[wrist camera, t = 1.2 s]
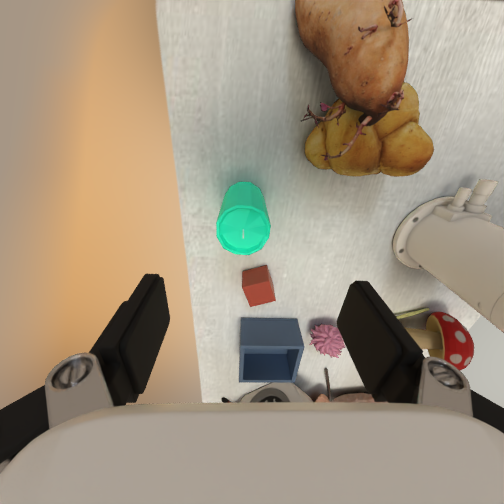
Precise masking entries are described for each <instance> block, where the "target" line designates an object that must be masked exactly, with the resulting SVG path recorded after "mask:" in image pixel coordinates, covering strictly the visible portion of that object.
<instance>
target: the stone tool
mask: <svg viewBox="0 0 504 504" xmlns="http://www.w3.org/2000/svg"><path fill="white" fill-rule="evenodd" d="M330 402H344V403H388V402H375V401H374V399H373V397H372V395H371V394H367V393H354V394H344V395H341V396H339V397H337V398H334V399H333V400H332V401H330Z"/></svg>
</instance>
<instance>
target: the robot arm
mask: <svg viewBox="0 0 504 504" xmlns="http://www.w3.org/2000/svg"><path fill="white" fill-rule="evenodd" d="M497 184H498V182H497V181H493V180H486V179H479V181H478V183H477V184H476V186H475V188H474V190H473V192H472V195H471V197H470V199H469V201H468V200H466V199H467V198H468V197H469V195H470V193H471V191H472V189H468V188H459V190H458V192H457V194H456V196H455V197H442V198H437V199H434V200H431V201H429V202H427V203H425V204H423V205H421V206H420V207H418V208H417V209H415V210H414V211H413V212H411V213H410V214H409V215H408V216H407V217H406V218H405V219H404V221H403V222H402V223H401V224H400V226H399V228H398V229H397V231H396V234H395V236H394V240H393V251H394V254H395V256H396V257H397V259H398V260H399V261H400V262H401V263H403V264H404V265H406V266H408V267H410V268H414V269H426V270H427V271H428V272H429V273H431V274H432V275H433V276H434V277H436V278H437V279H438V280H439V281H441V282H442V283H443V284H444V285H445V286H447V287H448V288H449V289H450V290H452V291H453V292H454V293H455V294H457V295H458V296H459V297H460V298H461V299H463V300H464V301H465V302H466V303H468V304H469V305H470V306H471V307H473V308H474V309H475V310H476V311H477V312H479V313H480V314H481V315H482V316H484V317H485V318H486V319H487V320H489V321H490V322H491V323H492V324H493V325H495V326H496V327H497V328H498V329H499V330H501V331H502V332H503V333H504V228H502V227H500V226H498V225H495V224H493V223H490V222H489V221H490V219H491V218H492V215H489V214H486V213H484V210H485V209H486V207H487V206H486V205H484V204H485V202H486V200H487V199H488V197H489V196H490V195H491V194H492V192H493V191H494V189H495V187H496V186H497ZM169 322H170V315H169V309H168V303H167V297H166V291H165V285H164V279H163V278H162V277H160V276H159V275H158V274H145V275H144V276H143V278H142V280H141V281H140V283H139V284H138V286H137V287H136V289H135V290H134V292H133V294H132V295H131V296H130V298H129V300H128V301H124V302H123V303H122V304H121V305H120V307H119V309H118V310H117V311H116V313H115V315H114V316H113V317H112V319H111V320H110V322H109V324H108V325H107V327H106V328H105V329H104V331H103V332H102V334H101V335H100V337H99V338H98V340H97V341H96V343H95V344H94V346H93V347H92V349H91V350H90V352H89V353H79V354H75V355H73V356H70V357H68V358H66V359H65V360H63V361H61V362H60V363H59V364H58V365H56V366H55V367H54V368H53V369H52V371H51V372H50V373H49V375H48V376H47V378H46V381H45V385H44V386H42V387H40V388H38V389H37V390H35V391H33V392H32V393H29V394H28V395H26V396H24V397H22V398H21V399H19V400H17V401H15V402H13V403H12V404H10V405H8V406H6V407H4V408H3V409H1V410H0V504H504V408H502V407H500V406H499V405H497V404H495V403H493V402H492V401H490V400H488V399H486V398H485V397H483V396H481V395H479V394H477V393H476V392H474V391H473V390H471V389H470V385H469V382H468V380H467V379H466V377H465V376H464V375H463V373H462V372H460V370H459V369H457V368H456V367H455V366H454V365H452V364H450V363H449V362H447V361H445V360H443V359H440V358H437V357H427V358H425V357H424V356H423V354H422V353H423V351H422V349H421V348H420V347H419V345H418V344H417V343H416V342H415V340H414V339H413V338H412V337H411V335H410V334H409V333H408V331H407V330H406V329H405V328H404V326H403V325H402V324H401V323H400V321H399V320H398V319H397V317H396V316H395V315H394V314H393V312H392V311H391V310H390V309H389V307H388V306H387V305H386V303H385V302H384V301H383V300H382V298H381V297H380V296H379V295H378V293H377V292H376V291H375V289H374V288H373V287H372V286H371V284H370V283H369V282H368V281H355V282H354V283H352V284H351V285H350V287H349V289H348V292H347V295H346V297H345V300H344V303H343V306H342V308H341V311H340V314H339V316H338V319H337V327H338V330H339V332H340V334H341V336H342V338H343V340H344V343H345V345H346V347H347V349H348V351H349V353H350V356H351V358H352V360H353V362H354V364H355V367H356V369H357V371H358V373H359V375H360V377H361V380H362V382H363V384H364V386H365V388H366V390H367V392H368V393H369V394H371V395H372V397H373V399H374V401H375V402H388V403H344V402H269V403H169V404H168V403H167V404H138V405H126V403H132V402H133V403H135V402H136V401H137V398H138V396H139V394H142V393H143V392H144V390H145V388H146V385H147V382H148V380H149V377H150V374H151V372H152V369H153V366H154V364H155V361H156V358H157V355H158V352H159V350H160V347H161V344H162V341H163V339H164V336H165V333H166V331H167V328H168V325H169Z"/></svg>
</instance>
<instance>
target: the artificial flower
mask: <svg viewBox="0 0 504 504" xmlns="http://www.w3.org/2000/svg"><path fill="white" fill-rule="evenodd" d="M428 310H429V308H425V309H422V310H418V311H414V312H410V313H407V314H403V315H399V316H396V317H397V319H401V318H405V317H409V316H413V315H416V314H419V313H422V312H425V311H428ZM311 331H312V333H313V334H310V333H309V334H310V335H311V337H312V338H313V340H311V343H310V344H309V345H311V344H314V346H315V347H316V350H319V351H320V354H322V353H323V354H324V356H325V353H326V354H329V355H330V356H331V358H332V356H333V357H337V358H339V357H338V355H341V354H339V353H341V352H342V351H340V350H341V349H342V348H345V347H344V346H345V345H344V343H343V342H344V340H343V339H342V336H341V334H340V332H339V330H338V328H336V327H333V325H325V324H324V326H323V324H322V323H321V325H319V327H317V326H316V325H315V329H314V330H313V329H311ZM339 349H340V350H339ZM337 354H338V355H337Z"/></svg>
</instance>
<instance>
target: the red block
mask: <svg viewBox="0 0 504 504" xmlns="http://www.w3.org/2000/svg"><path fill="white" fill-rule="evenodd" d="M242 288H243V291H244V293H245V296H246V298H247V300H248V303H249V305H250V307H252V306H256V305H260V304H265V303H269V302H273V301H276V299H275V293H274V287H273V283H272V279H271V276H270V273H269V270H268V267H267V265H265V266H261V267H257V268H254V269H250V270H246V271H243V272H242Z"/></svg>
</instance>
